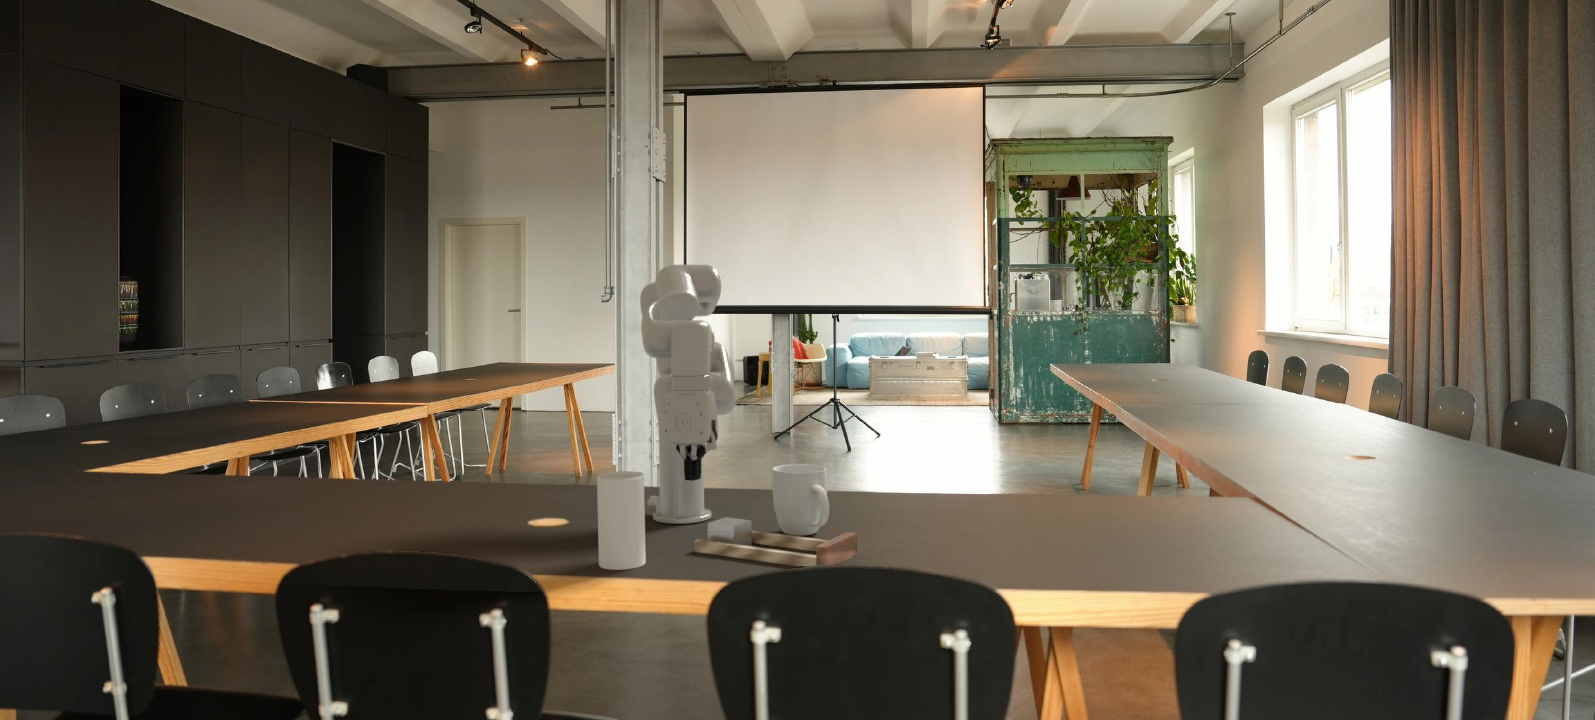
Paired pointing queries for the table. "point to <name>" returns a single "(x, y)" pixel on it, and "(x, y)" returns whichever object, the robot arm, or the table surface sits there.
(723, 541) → the block
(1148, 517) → the table surface
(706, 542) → the u-shaped frame
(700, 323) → the robot arm
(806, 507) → the mug
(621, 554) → the cup
